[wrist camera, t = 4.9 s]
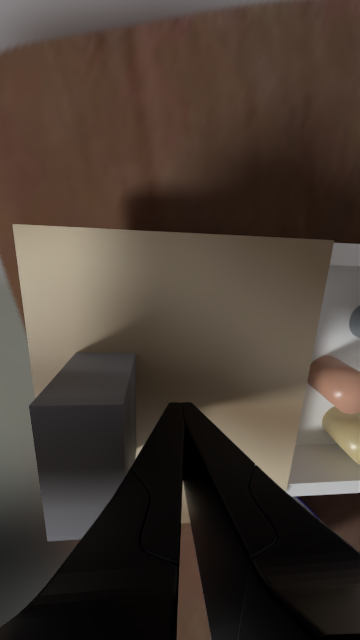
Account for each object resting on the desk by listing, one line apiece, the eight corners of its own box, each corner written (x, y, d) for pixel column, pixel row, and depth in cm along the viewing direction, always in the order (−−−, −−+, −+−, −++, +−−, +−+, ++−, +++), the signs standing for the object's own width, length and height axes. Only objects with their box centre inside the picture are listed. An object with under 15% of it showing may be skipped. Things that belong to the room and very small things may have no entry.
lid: (273, 499, 12) (326, 611, 8) (60, 511, 11) (8, 644, 7) (318, 241, 9) (437, 230, 5) (27, 227, 8) (-94, 199, 4)
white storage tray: (359, 446, 15) (406, 490, 12) (206, 451, 14) (218, 500, 11) (413, 252, 12) (491, 250, 9) (223, 243, 11) (245, 238, 8)
